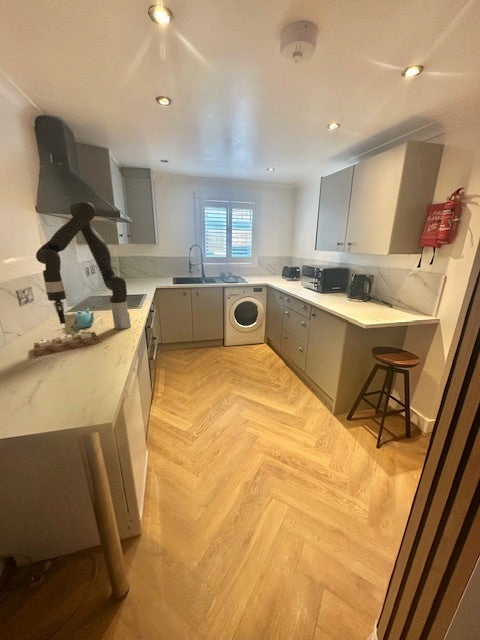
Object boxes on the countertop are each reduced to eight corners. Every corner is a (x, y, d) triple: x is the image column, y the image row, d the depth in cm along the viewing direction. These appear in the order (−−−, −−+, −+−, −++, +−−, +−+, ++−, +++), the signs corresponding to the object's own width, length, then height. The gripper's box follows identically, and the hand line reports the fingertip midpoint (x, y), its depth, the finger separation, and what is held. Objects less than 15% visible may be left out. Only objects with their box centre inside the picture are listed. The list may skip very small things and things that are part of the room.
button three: (90, 336, 145) (89, 330, 144) (92, 339, 141) (91, 332, 140) (80, 338, 142) (79, 332, 141) (81, 341, 138) (80, 334, 137)
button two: (52, 344, 134) (50, 337, 133) (52, 347, 131) (51, 340, 129) (40, 346, 131) (38, 339, 130) (40, 349, 128) (38, 342, 126)
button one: (72, 340, 139) (70, 333, 138) (73, 343, 136) (71, 336, 135) (61, 342, 137) (59, 335, 135) (62, 345, 133) (60, 338, 132)
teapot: (71, 331, 157) (68, 316, 154) (66, 326, 168) (63, 311, 164) (97, 326, 167) (94, 311, 164) (91, 321, 177) (88, 307, 174)
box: (72, 335, 150) (68, 315, 147) (66, 335, 151) (61, 314, 147) (79, 332, 155) (75, 312, 152) (73, 332, 156) (69, 312, 152)
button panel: (95, 336, 149) (94, 331, 148) (98, 342, 140) (97, 337, 139) (35, 348, 133) (34, 343, 132) (35, 356, 124) (33, 350, 123)
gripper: (65, 291, 124) (72, 324, 129) (63, 287, 135) (70, 318, 140) (46, 293, 120) (54, 327, 125) (46, 289, 131) (53, 320, 136)
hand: (62, 322), depth 133 cm, fingers open, 3 cm apart
